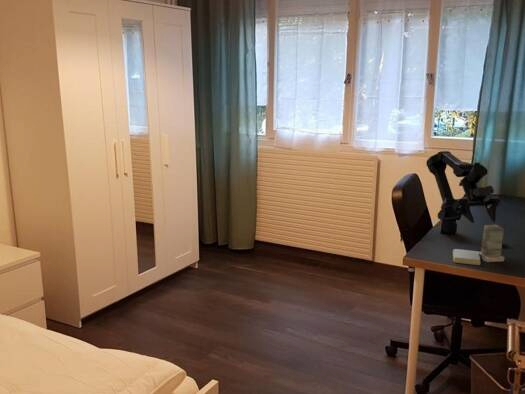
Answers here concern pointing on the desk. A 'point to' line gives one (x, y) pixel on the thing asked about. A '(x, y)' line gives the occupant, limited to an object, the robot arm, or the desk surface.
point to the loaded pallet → (492, 243)
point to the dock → (466, 257)
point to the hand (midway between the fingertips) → (483, 222)
